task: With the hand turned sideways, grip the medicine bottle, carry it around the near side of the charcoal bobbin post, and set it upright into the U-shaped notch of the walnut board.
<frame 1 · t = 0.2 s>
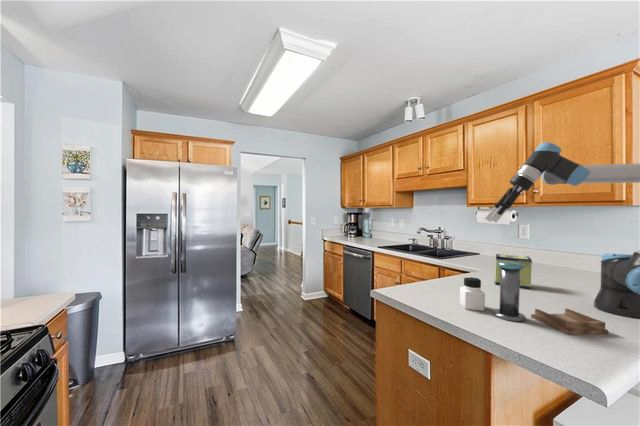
hand: (489, 220, 116), 35 cm above the worktop, tool tilted 35°, fingers open, 13 cm apart
medicine bottle: (471, 307, 111), on the worktop
protein box: (511, 285, 146), on the worktop
notched board: (567, 325, 95), on the worktop
bobbin post: (508, 316, 102), on the worktop
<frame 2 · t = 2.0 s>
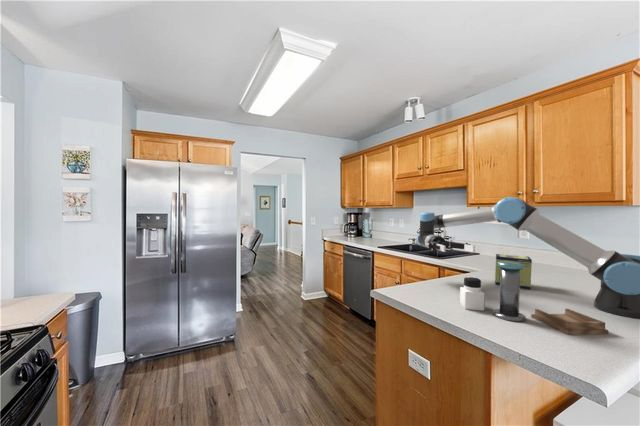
hand: (459, 249, 120), 22 cm above the worktop, tool horizontal, fingers open, 13 cm apart
nothing on the worktop moved.
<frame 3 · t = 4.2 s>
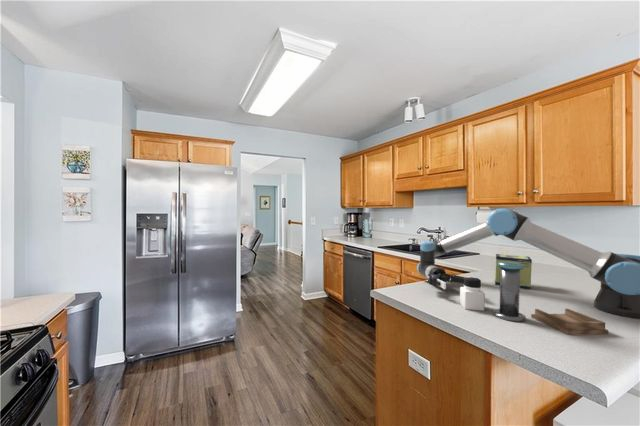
hand: (460, 286, 119), 6 cm above the worktop, tool horizontal, fingers open, 13 cm apart
nothing on the worktop moved.
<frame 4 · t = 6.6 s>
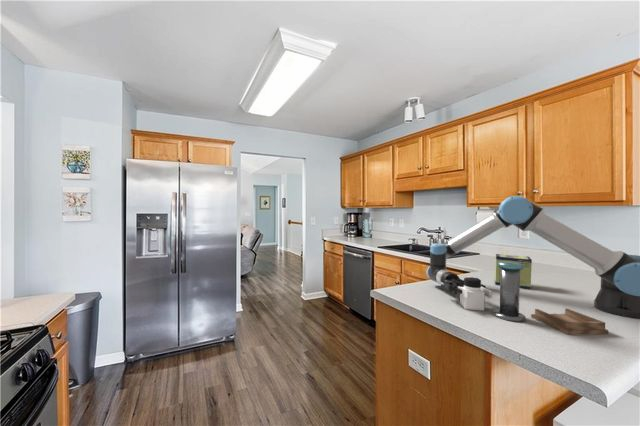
hand: (479, 294, 106), 7 cm above the worktop, tool horizontal, fingers closed on medicine bottle, 9 cm apart
medicine bottle: (471, 307, 111), on the worktop, touching gripper
everything else where it was.
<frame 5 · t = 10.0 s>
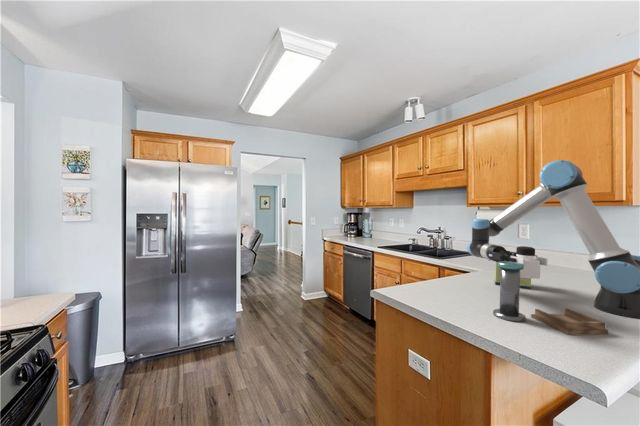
hand: (535, 262, 106), 20 cm above the worktop, tool horizontal, fingers closed on medicine bottle, 9 cm apart
medicine bottle: (524, 276, 110), point 13 cm above the worktop, touching gripper
everything else where it was.
when the fingers open (9 cm above the worktop, at t = 13.8 s): medicine bottle drops 1 cm, resting on notched board.
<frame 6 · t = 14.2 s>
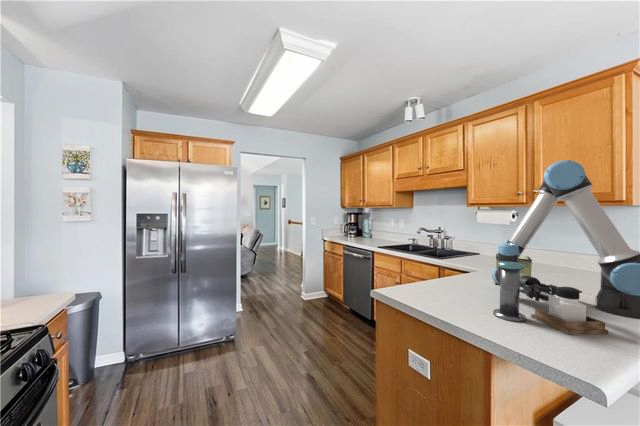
hand: (577, 301, 91), 9 cm above the worktop, tool horizontal, fingers open, 13 cm apart
medicine bottle: (566, 322, 95), point 1 cm above the worktop, touching notched board
everything else where it was.
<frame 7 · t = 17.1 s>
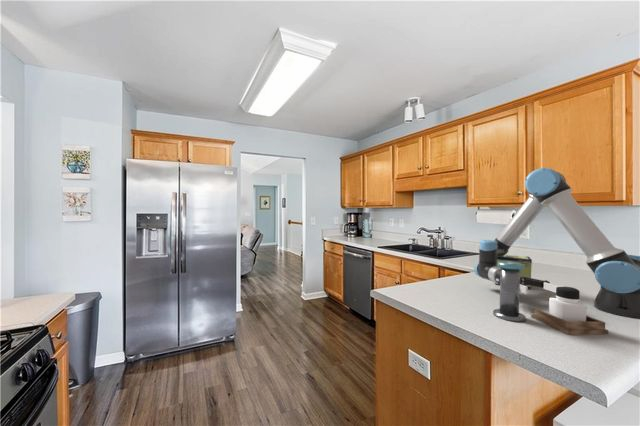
hand: (543, 290, 104), 9 cm above the worktop, tool horizontal, fingers open, 13 cm apart
nothing on the worktop moved.
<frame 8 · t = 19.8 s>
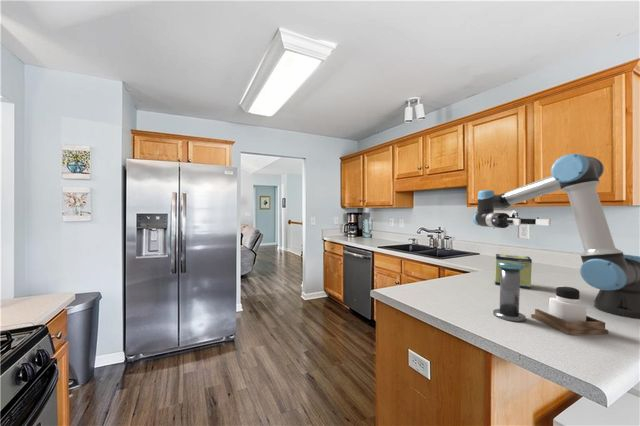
hand: (534, 222, 115), 35 cm above the worktop, tool horizontal, fingers open, 13 cm apart
nothing on the worktop moved.
at the end: medicine bottle 0.1 cm off-centre on the notched board, point 1.0 cm above the notched board's base; medicine bottle tilted 0°; the gripper is holding nothing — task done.
